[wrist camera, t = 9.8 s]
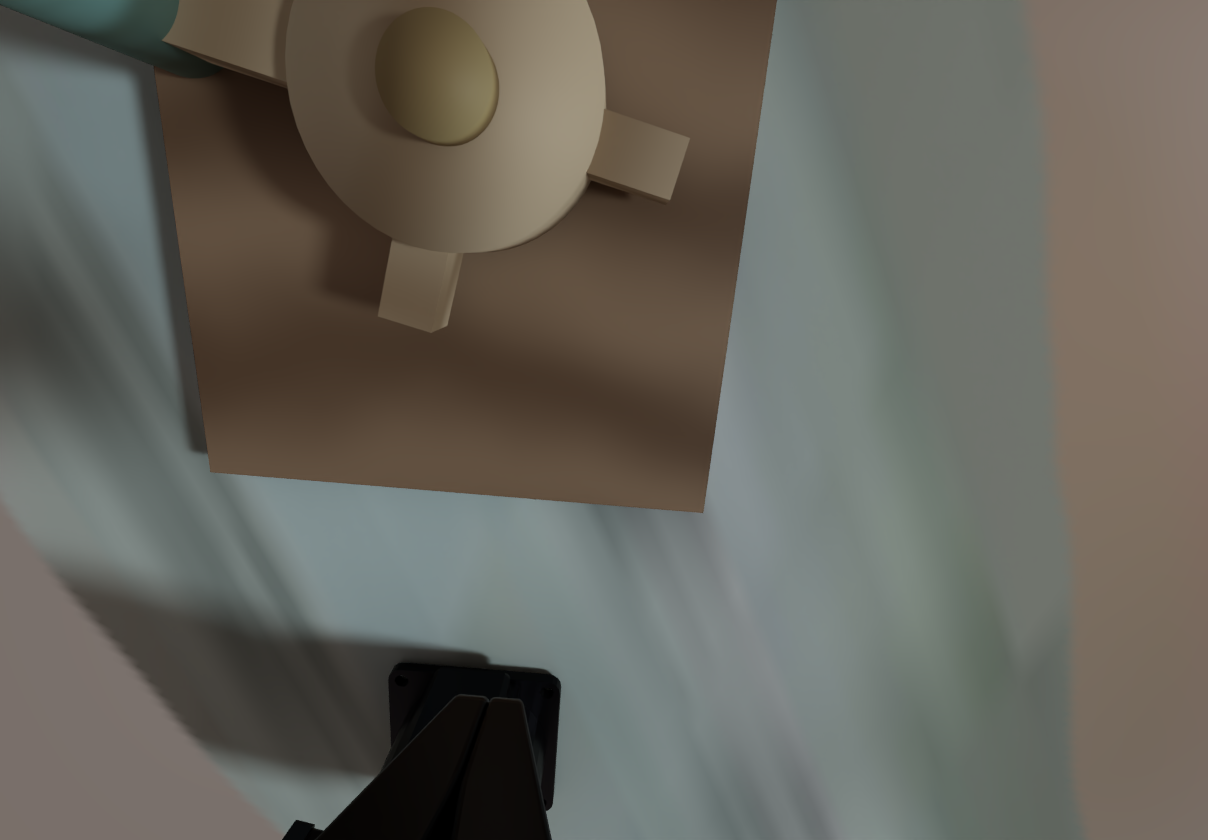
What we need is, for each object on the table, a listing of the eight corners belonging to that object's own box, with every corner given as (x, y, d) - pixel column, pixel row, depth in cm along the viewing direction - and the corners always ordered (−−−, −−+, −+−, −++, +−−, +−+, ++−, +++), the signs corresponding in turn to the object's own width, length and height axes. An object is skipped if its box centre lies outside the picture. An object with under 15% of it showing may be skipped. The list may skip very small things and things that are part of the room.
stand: (698, 497, 19) (730, 597, 14) (234, 458, 19) (77, 543, 14) (805, -275, 13) (940, -654, 8) (136, -328, 13) (-210, -741, 8)
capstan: (749, -60, 13) (863, -334, 7) (610, 372, 16) (605, 447, 10) (140, -283, 12) (-347, -827, 6) (117, 219, 15) (-219, 198, 9)
